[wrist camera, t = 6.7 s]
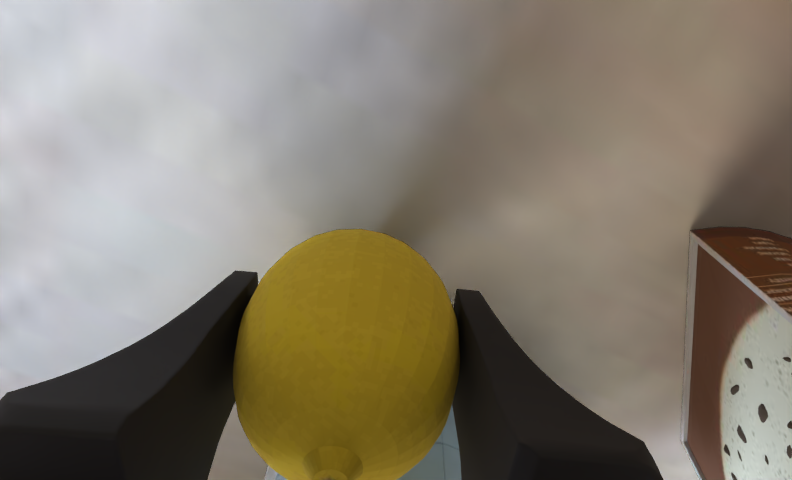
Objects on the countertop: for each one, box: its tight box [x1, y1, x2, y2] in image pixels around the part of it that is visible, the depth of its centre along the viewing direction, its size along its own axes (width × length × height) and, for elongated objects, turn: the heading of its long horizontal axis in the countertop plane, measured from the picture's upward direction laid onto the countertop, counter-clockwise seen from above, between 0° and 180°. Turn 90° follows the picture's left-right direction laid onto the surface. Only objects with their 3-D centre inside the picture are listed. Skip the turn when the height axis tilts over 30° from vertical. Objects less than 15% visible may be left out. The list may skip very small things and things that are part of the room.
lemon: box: [233, 229, 460, 480], centre depth 14 cm, size 6×6×8 cm
